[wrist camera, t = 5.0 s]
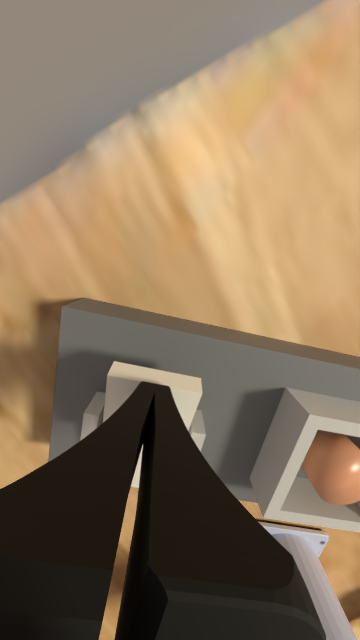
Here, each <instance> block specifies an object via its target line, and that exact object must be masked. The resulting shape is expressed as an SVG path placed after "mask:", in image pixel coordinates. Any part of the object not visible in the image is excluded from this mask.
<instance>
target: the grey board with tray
mask: <svg viewBox="0 0 360 640" xmlns="http://www.w3.org/2000/svg"><path fill="white" fill-rule="evenodd" d="M114 361H116V362H121V363H126V364H131V365H136V366H141V367H147V368H152V369H157V370H162V371H167V372H172V373H177V374H182V375H187V376H192V377H198V378H201V382H202V396H201V398H200V401H199V404H198V406H197V409H196V412H195V414H194V417H193V420H192V422H191V425H190V428H189V430H188V431H189V433H190V435H191V437H192V439H193V440H194V442H195V444H196V445H197V447H198V449H199V450H200V452H201V453H202V455H203V456H204V458H205V459H206V461H207V462H208V464H209V465H210V466H211V468H212V469H213V470H214V472H215V473H216V474H217V475H218V477H219V478H220V479H221V480H222V482H223V483H224V484H225V485H226V487H227V488H228V489H229V490H230V492H231V493H232V494H233V495H234V496H235V497H236V499H237V500H243V501H250V502H256V503H258V504H259V507H260V510H261V513H262V516H263V518H267V519H274V520H281V521H287V522H294V523H301V524H307V525H314V526H321V527H327V528H334V529H341V530H347V531H354V532H360V501H358V502H355V503H352V504H348V505H334V504H330V503H327V502H325V501H324V500H322V499H321V498H320V497H319V495H318V494H317V492H316V491H315V489H314V487H313V486H312V484H311V482H310V481H309V479H308V477H307V476H306V474H305V473H304V471H303V469H302V468H301V464H302V462H303V460H304V458H305V456H306V454H307V452H308V450H309V448H310V445H311V443H312V441H313V439H314V437H315V435H316V433H317V431H318V430H323V431H329V432H334V433H339V434H345V435H346V436H347V437H348V438H349V439H350V440H351V441H352V442H353V443H354V444H355V445H356V446H357V447H358V448H359V449H360V357H356V356H352V355H347V354H342V353H338V352H333V351H329V350H324V349H319V348H315V347H310V346H305V345H301V344H296V343H291V342H287V341H282V340H278V339H273V338H268V337H264V336H259V335H254V334H250V333H245V332H240V331H236V330H231V329H227V328H222V327H217V326H213V325H208V324H203V323H199V322H194V321H190V320H185V319H180V318H176V317H171V316H166V315H162V314H157V313H152V312H148V311H143V310H139V309H134V308H129V307H125V306H120V305H115V304H111V303H106V302H101V301H97V300H92V299H88V298H82V299H80V300H77V301H74V302H72V303H69V304H66V305H64V306H62V309H61V321H60V332H59V344H58V355H57V367H56V379H55V390H54V402H53V413H52V425H51V437H50V448H49V460H48V462H49V461H51V460H53V459H54V458H56V457H57V456H59V455H60V454H62V453H63V452H65V451H66V450H68V449H69V448H71V447H72V446H74V445H75V444H76V443H78V442H79V441H81V440H82V439H83V438H85V437H86V436H87V435H89V434H90V433H91V432H92V431H94V430H95V429H96V428H97V427H99V426H100V425H101V424H102V423H103V417H104V405H105V394H106V383H107V375H108V373H109V370H110V368H111V366H112V364H113V362H114Z"/></svg>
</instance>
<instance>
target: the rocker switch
mask: <svg viewBox="0 0 360 640" xmlns="http://www.w3.org/2000/svg"><path fill="white" fill-rule="evenodd" d="M142 381H145V382H150V383H155V384H161V385H166V386H169V387H170V389H171V392H172V395H173V398H174V401H175V403H176V406H177V408H178V411H179V413H180V415H181V417H182V419H183V422H184V424H185V426H186V428H187V429H188V430H189V428H190V425H191V422H192V420H193V417H194V414H195V412H196V409H197V406H198V404H199V401H200V398H201V396H202V382H201V378H198V377H192V376H187V375H182V374H177V373H172V372H167V371H162V370H157V369H152V368H147V367H141V366H136V365H131V364H126V363H121V362H116V361H114V362H113V364H112V366H111V368H110V370H109V373H108V375H107V383H106V394H105V405H104V417H103V422H104V421H106V420H107V419H108V418H109V417H110V416H111V415H112V414H113V413H114V412H115V411H116V410H117V409H118V408H119V407H120V406H121V405H122V404H123V403H124V402H125V401H126V400H127V399H128V398H129V396H130V395H131V394H132V393H133V392H134V390H135V389H136V388H137V386H138V384H139V383H140V382H142ZM142 449H143V445H142ZM142 449H141V452H140V456H139V459H138V463H137V466H136V470H135V473H134V477H133V480H132V484H131V487H136V488H139V480H140V470H141V459H142Z"/></svg>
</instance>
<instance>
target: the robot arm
mask: <svg viewBox="0 0 360 640" xmlns="http://www.w3.org/2000/svg"><path fill="white" fill-rule="evenodd" d="M142 445H143V449H142ZM141 449H142V459H141V470H140V480H139V491H138V502H137V510H136V517H135V523H134V529H133V535H132V541H131V547H130V553H129V559H128V565H127V570H126V576H125V582H124V588H123V594H122V600H121V605H120V611H119V617H118V623H117V628H116V634H115V640H357V638H356V636H355V634H354V632H353V629H352V627H351V625H350V623H349V621H348V619H347V617H346V615H345V613H344V611H343V609H342V607H341V604H340V602H339V600H338V598H337V596H336V594H335V592H334V590H333V588H332V586H331V584H330V582H329V580H328V577H327V575H326V573H325V571H324V569H323V567H322V565H321V563H320V561H319V559H318V558H319V556H320V554H321V552H322V551H323V549H324V547H325V545H326V544H327V542H328V540H329V536H328V534H327V533H326V532H325V531H319V530H312V529H306V528H299V527H292V526H285V525H279V524H272V523H265V522H258V521H257V520H256V519H255V518H254V517H253V516H252V515H251V514H250V513H249V512H248V511H247V510H246V508H245V507H244V506H243V505H242V504H241V503H240V502H239V501H238V500H237V499H236V497H235V496H234V495H233V494H232V493H231V492H230V490H229V489H228V488H227V487H226V485H225V484H224V483H223V482H222V480H221V479H220V478H219V477H218V475H217V474H216V473H215V472H214V470H213V469H212V468H211V466H210V465H209V464H208V462H207V461H206V459H205V458H204V456H203V455H202V453H201V452H200V450H199V449H198V447H197V445H196V444H195V442H194V440H193V439H192V437H191V435H190V433H189V431H188V429H187V428H186V426H185V424H184V422H183V419H182V417H181V415H180V413H179V411H178V408H177V406H176V403H175V401H174V398H173V395H172V392H171V389H170V387H169V386H166V385H161V384H155V383H150V382H145V381H142V382H140V383H139V384H138V386H137V388H136V389H135V390H134V392H133V393H132V394H131V395H130V396H129V398H128V399H127V400H126V401H125V402H124V403H123V404H122V405H121V406H120V407H119V408H118V409H117V410H116V411H115V412H114V413H113V414H112V415H111V416H110V417H109V418H108V419H107V420H106V421H104V422H103V423H102V424H101V425H100V426H99V427H97V428H96V429H95V430H94V431H92V432H91V433H90V434H89V435H87V436H86V437H85V438H83V439H82V440H81V441H79V442H78V443H76V444H75V445H74V446H72V447H71V448H69V449H68V450H66V451H65V452H63V453H62V454H60V455H59V456H57V457H56V458H54V459H53V460H51V461H49V462H48V463H46V464H44V465H43V466H41V467H39V468H38V469H36V470H34V471H33V472H31V473H29V474H28V475H26V476H24V477H22V478H21V479H19V480H17V481H15V482H13V483H12V484H10V485H8V486H6V487H4V488H2V489H0V640H98V639H99V635H100V630H101V625H102V621H103V616H104V611H105V606H106V601H107V596H108V592H109V587H110V582H111V577H112V572H113V567H114V562H115V557H116V552H117V547H118V542H119V537H120V533H121V528H122V523H123V518H124V513H125V508H126V503H127V498H128V494H129V491H130V487H131V484H132V480H133V477H134V473H135V470H136V466H137V463H138V459H139V456H140V452H141Z"/></svg>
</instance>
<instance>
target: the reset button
mask: <svg viewBox="0 0 360 640" xmlns="http://www.w3.org/2000/svg"><path fill="white" fill-rule="evenodd" d="M301 468H302V469H303V471H304V473H305V474H306V476H307V477H308V479H309V481H310V482H311V484H312V486H313V487H314V489H315V491H316V492H317V494H318V495H319V497H320V498H321V499H322V500H324V501H325V502H327V503H330V504H334V505H348V504H352V503H355V502H358V501H360V449H359V448H358V447H357V446H356V445H355V444H354V443H353V442H352V441H351V440H350V439H349V438H348V437H347V436H346V435H345V434H339V433H334V432H329V431H323V430H318V431H317V433H316V435H315V437H314V439H313V441H312V443H311V445H310V448H309V450H308V452H307V454H306V456H305V458H304V460H303V462H302V464H301Z"/></svg>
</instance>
